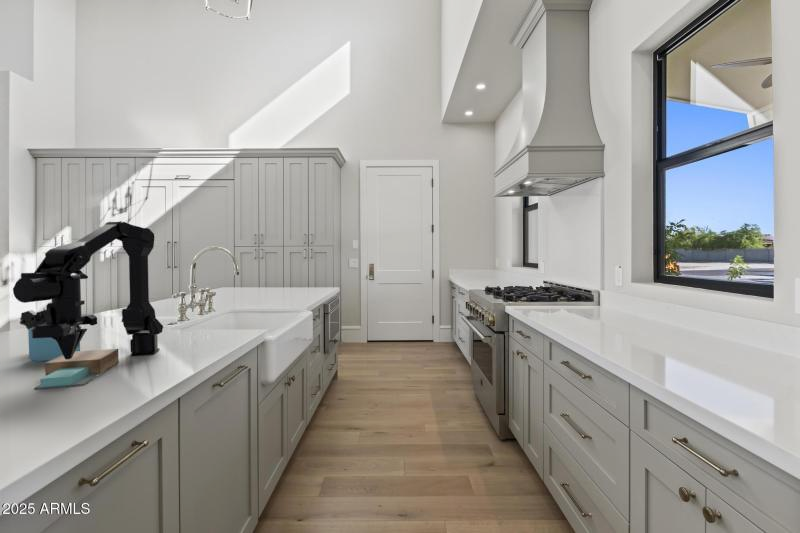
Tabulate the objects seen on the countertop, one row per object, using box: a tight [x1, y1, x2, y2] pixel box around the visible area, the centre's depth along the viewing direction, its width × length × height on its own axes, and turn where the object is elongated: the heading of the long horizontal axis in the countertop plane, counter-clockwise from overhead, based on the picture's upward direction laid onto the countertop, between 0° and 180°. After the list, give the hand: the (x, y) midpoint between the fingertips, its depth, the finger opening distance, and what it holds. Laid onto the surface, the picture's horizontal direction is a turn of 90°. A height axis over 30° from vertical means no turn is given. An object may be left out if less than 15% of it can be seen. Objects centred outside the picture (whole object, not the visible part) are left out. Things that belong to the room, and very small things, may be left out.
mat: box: [33, 373, 101, 390], centre depth 100 cm, size 10×10×1 cm
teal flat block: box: [39, 366, 89, 387], centre depth 99 cm, size 6×9×2 cm, turn 16°
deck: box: [44, 348, 120, 376], centre depth 109 cm, size 12×12×4 cm
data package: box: [27, 323, 81, 362], centre depth 120 cm, size 12×4×12 cm, turn 89°
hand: (68, 358), depth 101 cm, fingers closed
